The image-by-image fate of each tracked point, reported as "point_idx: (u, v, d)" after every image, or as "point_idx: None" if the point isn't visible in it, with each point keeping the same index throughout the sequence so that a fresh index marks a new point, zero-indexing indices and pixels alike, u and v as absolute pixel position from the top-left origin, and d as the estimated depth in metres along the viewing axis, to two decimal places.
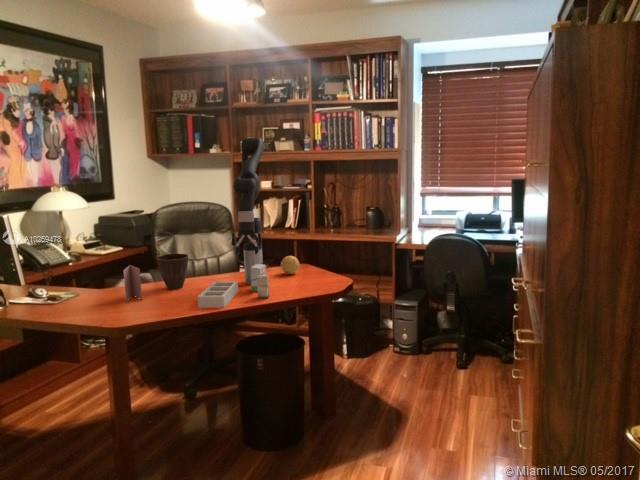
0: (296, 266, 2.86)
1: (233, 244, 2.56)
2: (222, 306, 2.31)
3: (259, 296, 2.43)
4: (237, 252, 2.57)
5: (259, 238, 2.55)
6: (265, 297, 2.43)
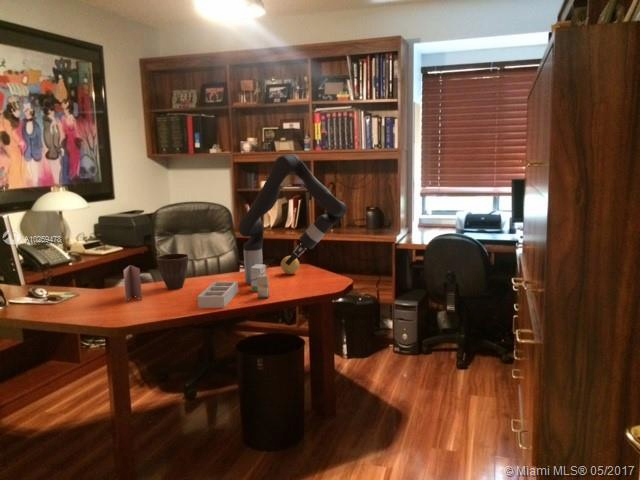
0: (296, 266, 2.86)
1: None
2: (222, 306, 2.31)
3: (259, 296, 2.43)
4: None
5: None
6: (265, 297, 2.43)
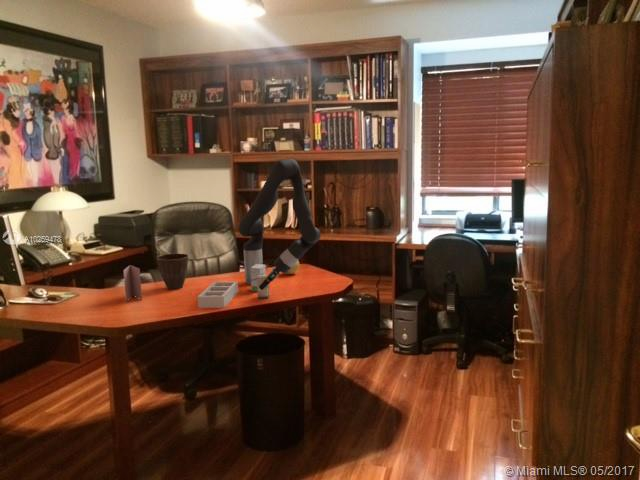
0: (296, 266, 2.86)
1: None
2: (222, 306, 2.31)
3: (259, 296, 2.43)
4: (263, 288, 2.42)
5: None
6: (265, 297, 2.43)
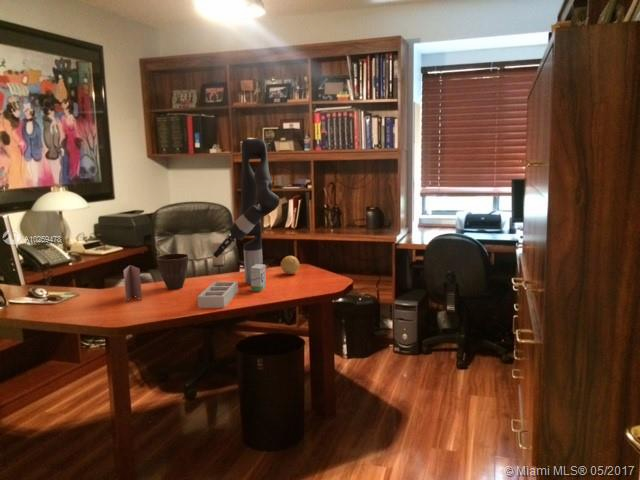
0: (296, 266, 2.86)
1: (223, 250, 2.28)
2: (222, 306, 2.31)
3: (214, 264, 2.32)
4: None
5: None
6: (220, 265, 2.32)
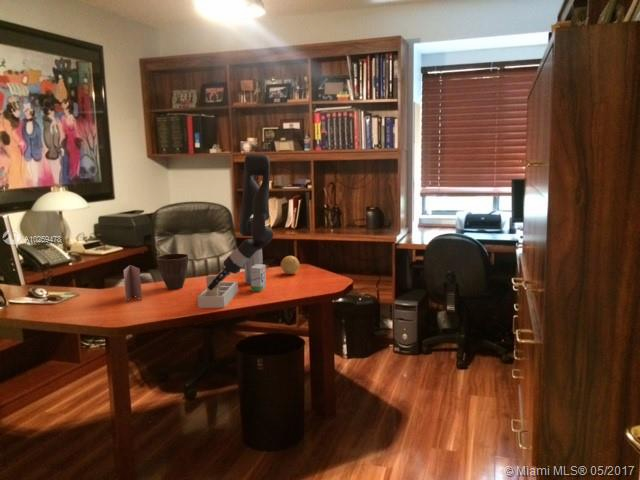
0: (296, 266, 2.86)
1: None
2: (222, 306, 2.31)
3: None
4: None
5: None
6: None
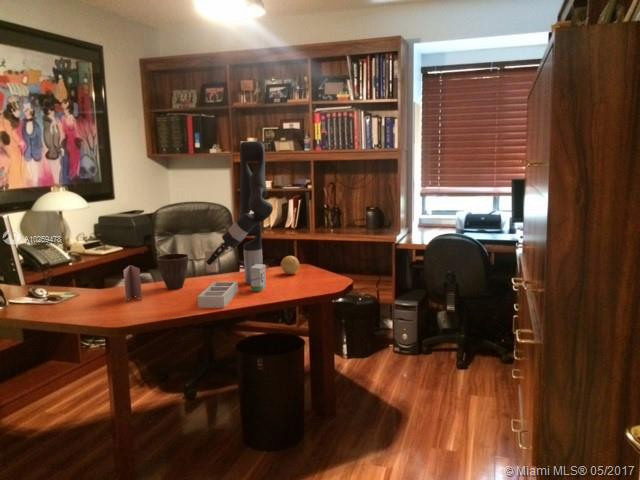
0: (296, 266, 2.86)
1: (216, 258, 2.28)
2: (222, 306, 2.31)
3: (207, 272, 2.32)
4: (211, 263, 2.31)
5: None
6: (214, 273, 2.32)
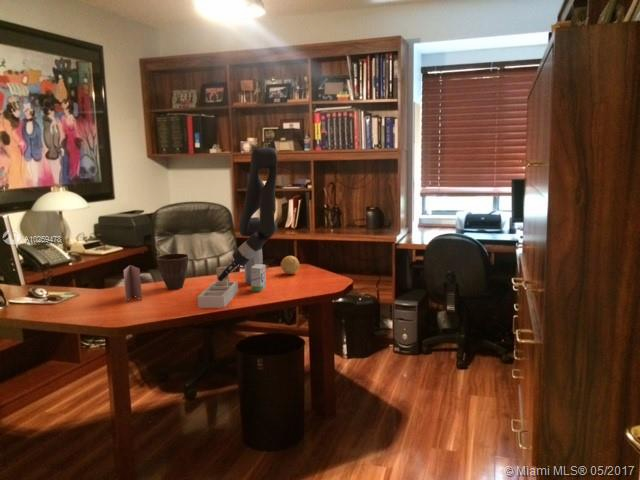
0: (296, 266, 2.86)
1: None
2: (222, 306, 2.31)
3: None
4: None
5: None
6: None
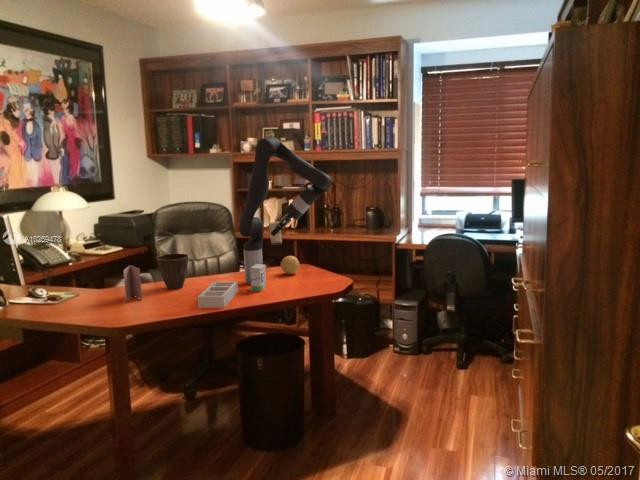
0: (296, 266, 2.86)
1: None
2: (222, 306, 2.31)
3: (272, 242, 2.47)
4: None
5: None
6: (278, 243, 2.47)
